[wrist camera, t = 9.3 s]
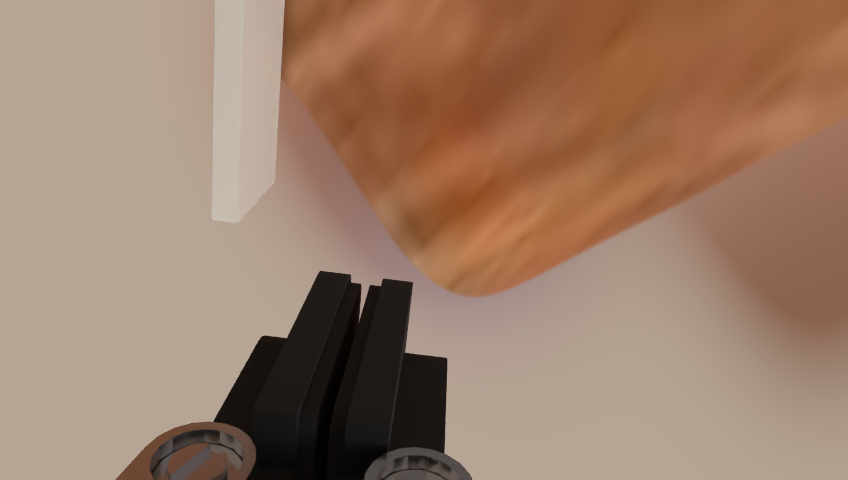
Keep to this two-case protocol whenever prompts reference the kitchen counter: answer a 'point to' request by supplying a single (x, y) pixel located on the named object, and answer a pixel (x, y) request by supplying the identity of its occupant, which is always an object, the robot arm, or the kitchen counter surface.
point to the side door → (245, 103)
